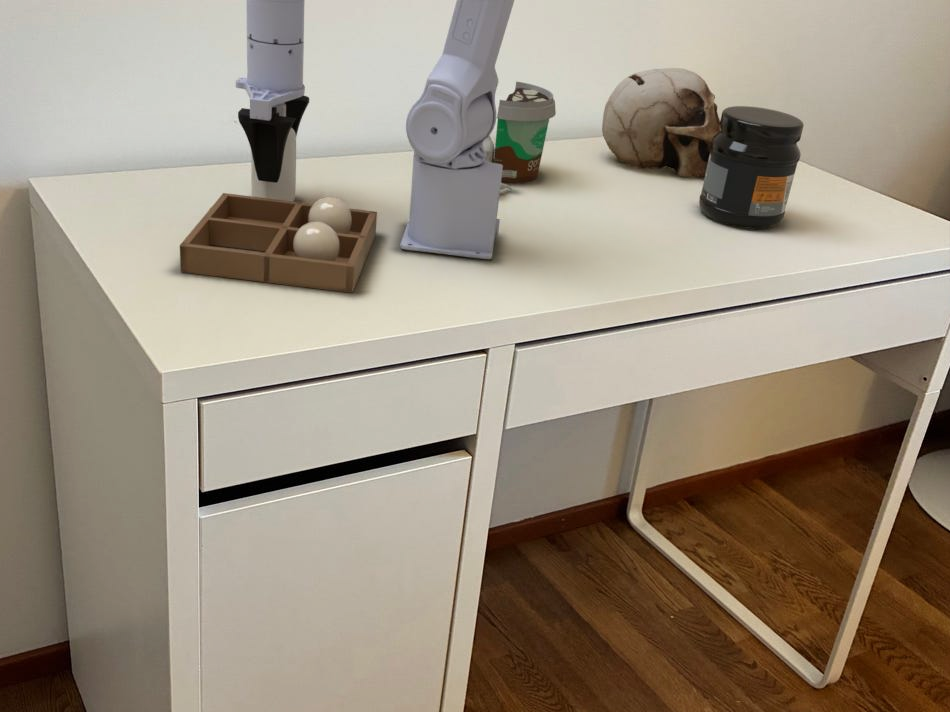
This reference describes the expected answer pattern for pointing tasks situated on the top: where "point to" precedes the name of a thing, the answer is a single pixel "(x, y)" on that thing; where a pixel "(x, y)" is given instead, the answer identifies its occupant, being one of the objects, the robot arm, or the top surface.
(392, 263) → the top surface
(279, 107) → the eye dropper bottle
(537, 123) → the food container
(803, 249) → the top surface
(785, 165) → the supplement container
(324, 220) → the egg near left
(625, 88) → the coin bank
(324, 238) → the egg near right
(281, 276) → the wooden compartment tray
